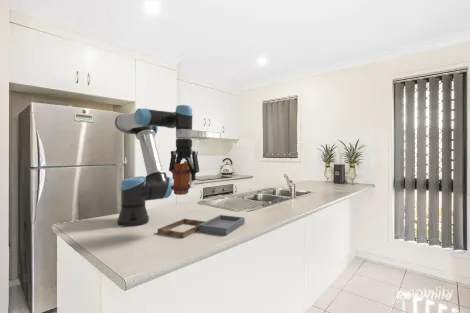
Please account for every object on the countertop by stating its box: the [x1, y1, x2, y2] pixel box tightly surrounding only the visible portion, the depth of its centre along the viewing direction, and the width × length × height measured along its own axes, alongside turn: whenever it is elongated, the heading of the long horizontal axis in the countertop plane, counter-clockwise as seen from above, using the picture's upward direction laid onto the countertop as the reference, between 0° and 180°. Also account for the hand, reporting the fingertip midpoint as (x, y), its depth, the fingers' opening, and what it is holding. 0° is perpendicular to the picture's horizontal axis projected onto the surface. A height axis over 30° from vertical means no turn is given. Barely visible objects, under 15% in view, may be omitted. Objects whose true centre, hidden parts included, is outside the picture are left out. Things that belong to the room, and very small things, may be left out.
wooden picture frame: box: [157, 218, 207, 239], centre depth 118 cm, size 14×20×2 cm
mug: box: [170, 160, 191, 196], centre depth 118 cm, size 15×8×15 cm, turn 168°
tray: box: [198, 214, 246, 236], centre depth 122 cm, size 14×21×3 cm, turn 156°
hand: (183, 187), depth 118 cm, fingers closed on mug, 8 cm apart
